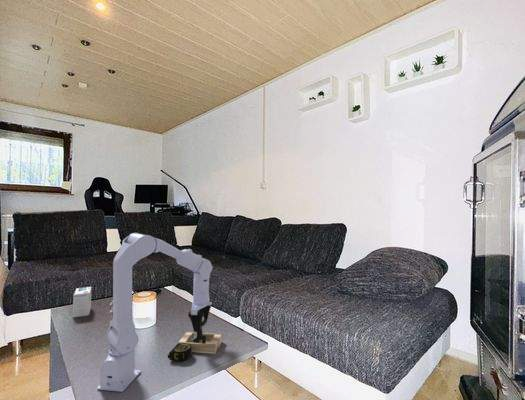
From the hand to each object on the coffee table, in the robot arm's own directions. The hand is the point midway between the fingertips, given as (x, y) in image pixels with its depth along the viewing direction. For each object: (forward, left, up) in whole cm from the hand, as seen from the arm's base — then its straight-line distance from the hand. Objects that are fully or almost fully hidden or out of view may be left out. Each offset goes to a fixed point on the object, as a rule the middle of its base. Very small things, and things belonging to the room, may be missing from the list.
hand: (200, 326), depth 104 cm
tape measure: (-8, +5, -8) cm, 12 cm away
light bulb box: (+22, +67, -8) cm, 71 cm away
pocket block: (0, 0, -7) cm, 7 cm away
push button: (0, +1, -7) cm, 7 cm away
